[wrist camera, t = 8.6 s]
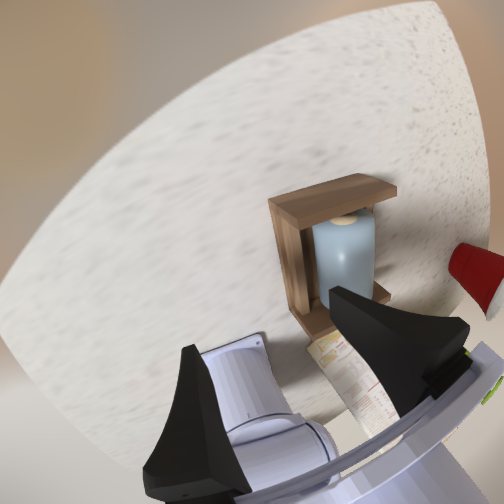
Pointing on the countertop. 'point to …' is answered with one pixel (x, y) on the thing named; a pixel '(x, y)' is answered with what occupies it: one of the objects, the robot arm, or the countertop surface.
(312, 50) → the countertop surface
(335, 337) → the coffeecake box
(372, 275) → the roll
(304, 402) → the countertop surface
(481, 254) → the plastic cup
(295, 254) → the holder
